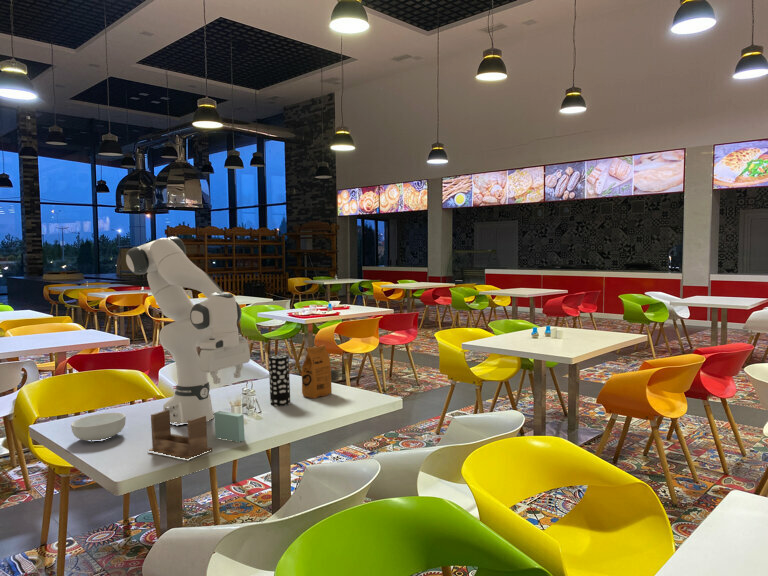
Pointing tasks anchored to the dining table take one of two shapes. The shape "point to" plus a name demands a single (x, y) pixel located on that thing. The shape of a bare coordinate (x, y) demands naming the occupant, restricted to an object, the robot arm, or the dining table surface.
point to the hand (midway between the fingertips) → (227, 380)
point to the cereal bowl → (98, 426)
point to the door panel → (229, 426)
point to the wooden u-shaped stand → (178, 436)
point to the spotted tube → (279, 380)
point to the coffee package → (316, 373)
